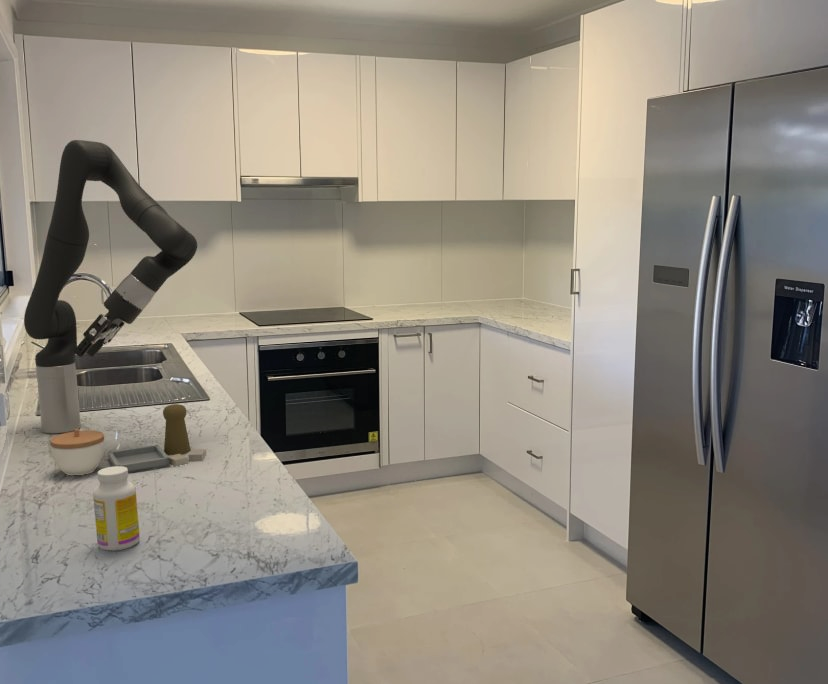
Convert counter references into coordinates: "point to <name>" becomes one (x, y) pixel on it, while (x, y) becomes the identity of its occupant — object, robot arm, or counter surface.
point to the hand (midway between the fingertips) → (83, 354)
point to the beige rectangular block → (197, 455)
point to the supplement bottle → (115, 510)
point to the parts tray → (140, 458)
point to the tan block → (178, 460)
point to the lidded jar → (78, 451)
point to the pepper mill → (175, 430)
